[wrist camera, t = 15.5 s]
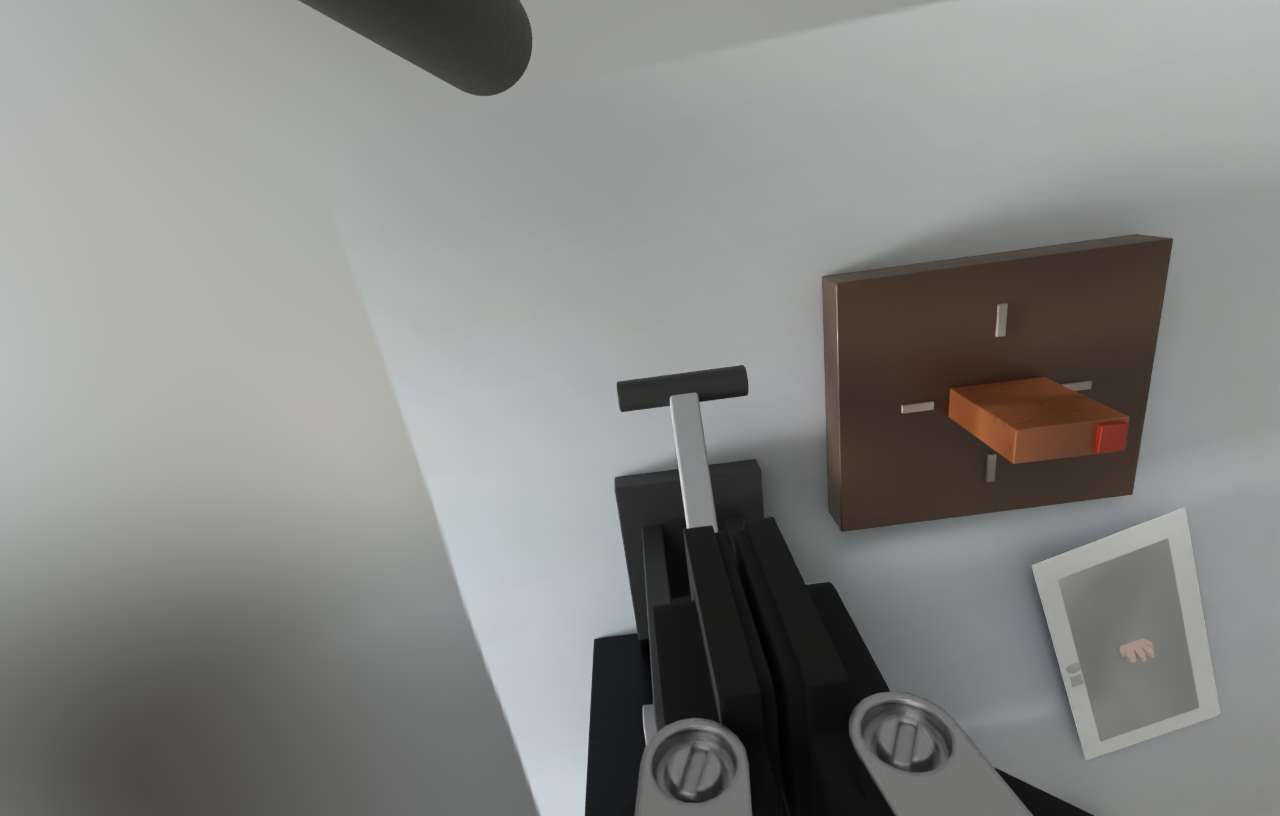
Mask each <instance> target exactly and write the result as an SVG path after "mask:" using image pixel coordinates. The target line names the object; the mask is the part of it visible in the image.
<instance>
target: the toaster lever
mask: <svg viewBox="0 0 1280 816" xmlns="http://www.w3.org/2000/svg"><path fill="white" fill-rule="evenodd" d="M617 393H618V400H619V407H620V411H621V412H626V411H634V410H641V409H649V408H656V407H664V406H670V411H671V418H672V425H673V432H674V440H675V447H676V454H677V461H678V468H679V476H680V483H681V490H682V497H683V504H684V512H685V519H686V526H687V528H695V527H702V526H709V525H712V526H713V529H714V532H715V533H716V532H718V527H717V520H716V513H715V506H714V500H713V493H712V486H711V479H710V473H709V466H708V459H707V452H706V446H705V439H704V432H703V425H702V419H701V412H700V405H699V402H702V401H710V400H717V399H725V398H732V397H740V396H747V395H748V378H747V373H746V369H745V367H744V366H743V365H740V366H733V367H725V368H718V369H710V370H703V371H695V372H687V373H680V374H672V375H665V376H657V377H650V378H642V379H635V380H627V381H619V382H617Z"/></svg>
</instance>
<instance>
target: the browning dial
mask: <svg viewBox="0 0 1280 816" xmlns="http://www.w3.org/2000/svg"><path fill="white" fill-rule="evenodd" d="M1172 243H1173V239H1172V238H1166V237H1157V236H1147V235H1138V234H1135V235H1127V236H1120V237H1113V238H1105V239H1098V240H1090V241H1083V242H1075V243H1068V244H1060V245H1053V246H1045V247H1038V248H1030V249H1023V250H1016V251H1008V252H1001V253H993V254H986V255H978V256H971V257H963V258H956V259H948V260H941V261H933V262H926V263H919V264H911V265H904V266H896V267H889V268H881V269H874V270H866V271H859V272H851V273H844V274H836V275H829V276H823V277H822V290H823V326H824V361H825V397H826V433H827V469H828V505H829V513H830V514H831V516H832V517H833V519H834V521H835V522H836V524H837V525H838V527H839V529H840V530H841V531H842V532H843V531H851V530H859V529H867V528H875V527H882V526H890V525H898V524H906V523H913V522H921V521H929V520H937V519H945V518H952V517H960V516H968V515H976V514H984V513H991V512H999V511H1007V510H1015V509H1023V508H1030V507H1038V506H1046V505H1054V504H1061V503H1069V502H1077V501H1085V500H1093V499H1100V498H1108V497H1116V496H1124V495H1131V494H1132V493H1133V487H1134V481H1135V475H1136V468H1137V462H1138V456H1139V449H1140V443H1141V437H1142V431H1143V424H1144V418H1145V412H1146V406H1147V399H1148V393H1149V387H1150V381H1151V374H1152V368H1153V362H1154V356H1155V349H1156V343H1157V337H1158V330H1159V324H1160V318H1161V312H1162V305H1163V299H1164V293H1165V287H1166V280H1167V274H1168V268H1169V262H1170V255H1171V249H1172ZM1038 377H1046V378H1048V379H1050V380H1052V381H1054V382H1056V383H1059V384H1061V385H1063V386H1065V387H1067V388H1069V389H1071V390H1073V391H1076V392H1078V393H1080V394H1082V395H1084V396H1086V397H1088V398H1091V399H1093V400H1095V401H1097V402H1099V403H1101V404H1103V405H1106V406H1108V407H1110V408H1112V409H1114V410H1116V411H1118V412H1120V413H1123V414H1125V415H1127V416H1129V427H1128V433H1127V439H1126V445H1125V450H1124V451H1116V452H1108V453H1099V454H1091V455H1083V456H1075V457H1066V458H1058V459H1050V460H1042V461H1034V462H1025V463H1017V464H1013V463H1011V462H1010V461H1009V460H1007V459H1006V458H1004V457H1003V456H1002V455H1000V454H999V453H998V452H996V451H995V450H993V449H992V448H991V447H989V446H988V445H986V444H985V443H984V442H982V441H981V440H980V439H978V438H977V437H975V436H974V435H973V434H971V433H970V432H969V431H967V430H966V429H964V428H963V427H962V426H960V425H959V424H958V423H956V422H955V421H953V420H952V419H951V418H949V398H950V388H957V387H965V386H973V385H981V384H989V383H997V382H1005V381H1014V380H1022V379H1030V378H1038Z"/></svg>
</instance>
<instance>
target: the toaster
mask: <svg viewBox="0 0 1280 816" xmlns="http://www.w3.org/2000/svg"><path fill="white" fill-rule="evenodd" d="M649 704H653V691H652V676H651V661H650V646H649V639H642V640H639V638H638V634H630V635H622V636H614V637H606V638H598V639H594V651H593V670H592V689H591V708H590V727H589V746H588V765H587V784H586V803H585V816H617V815H618V814H619V813H620V812H621V811H622V810H623V809H624V808H625V806H626V805H627V804H628V803H629V802H630V801H631V800H632V799H633V797H634V796H635V795H636V794H637V789H638V780H639V771H640V762H641V759H642V755H643V752H644V749H645V747H646V741H645V734H644V725H643V706H644V705H649ZM782 798H783V796H782ZM783 814H784V816H788V814H787V811H786V807H785V803H784V800H783Z"/></svg>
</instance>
